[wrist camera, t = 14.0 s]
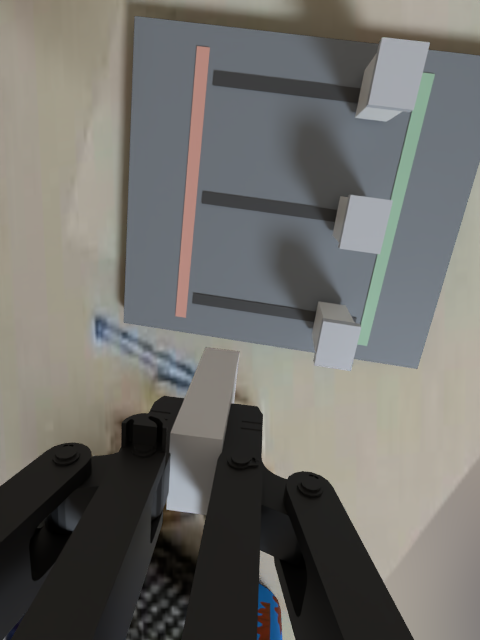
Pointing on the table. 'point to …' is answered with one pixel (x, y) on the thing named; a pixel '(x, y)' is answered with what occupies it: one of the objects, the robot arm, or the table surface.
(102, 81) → the table surface
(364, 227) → the block
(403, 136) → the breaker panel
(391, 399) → the table surface
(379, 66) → the block
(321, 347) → the block
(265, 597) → the thermos
